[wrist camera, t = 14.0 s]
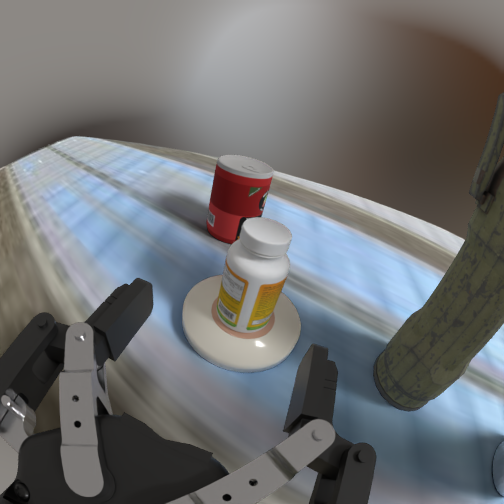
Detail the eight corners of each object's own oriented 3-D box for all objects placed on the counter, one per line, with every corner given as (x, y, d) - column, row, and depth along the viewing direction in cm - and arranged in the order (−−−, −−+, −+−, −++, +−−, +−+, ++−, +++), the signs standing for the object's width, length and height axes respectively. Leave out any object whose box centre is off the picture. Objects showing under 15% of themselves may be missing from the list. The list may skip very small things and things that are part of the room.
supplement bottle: (270, 301, 29) (299, 222, 24) (267, 340, 25) (302, 256, 19) (221, 289, 29) (239, 206, 24) (210, 326, 24) (228, 237, 19)
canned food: (243, 252, 38) (262, 178, 32) (195, 231, 40) (206, 160, 34) (263, 231, 45) (281, 167, 39) (220, 213, 46) (232, 151, 40)
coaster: (263, 277, 35) (267, 267, 34) (316, 352, 27) (322, 343, 26) (169, 291, 29) (169, 280, 28) (206, 387, 21) (207, 379, 20)
